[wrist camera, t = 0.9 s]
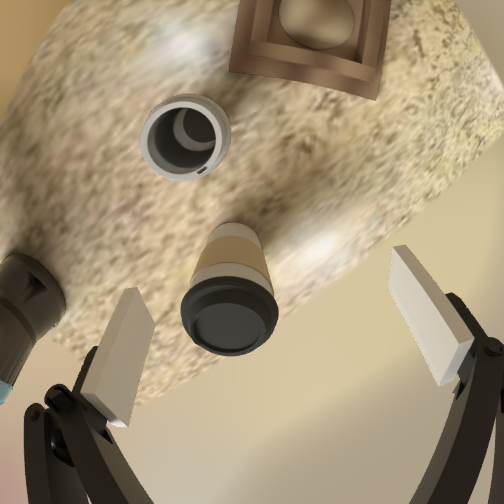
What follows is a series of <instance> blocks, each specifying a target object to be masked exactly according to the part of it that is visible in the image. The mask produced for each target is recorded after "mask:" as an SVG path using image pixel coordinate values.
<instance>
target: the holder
mask: <svg viewBox="0 0 504 504" xmlns="http://www.w3.org/2000/svg"><path fill="white" fill-rule="evenodd" d="M390 2H391V0H240V4H239V9H238V15H237V21H236V27H235V33H234V39H233V45H232V52H231V58H230V65H229V72H239V73H247V74H255V75H263V76H269V77H276V78H282V79H288V80H293V81H298V82H303V83H308V84H313V85H317V86H322V87H326V88H330V89H335V90H338V91H342V92H346V93H350V94H354V95H357V96H361V97H364V98H367V99H371V100H376V97H377V92H378V87H379V81H380V75H381V70H382V64H383V57H384V51H385V44H386V37H387V29H388V21H389V12H390Z"/></svg>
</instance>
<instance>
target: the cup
mask: <svg viewBox="0 0 504 504" xmlns="http://www.w3.org/2000/svg"><path fill="white" fill-rule="evenodd" d="M230 142H231V126H230V122H229V119H228V117H227V115H226V113H225V112H224V110H223V109H222V108H221V107H220V106H219V105H218V104H217V103H216V102H214V101H213V100H211V99H209V98H207V97H205V96H202V95H198V94H181V95H176V96H173V97H171V98H168V99H166V100H165V101H163V102H161V103H160V104H159V105H157V106H156V107H155V108H154V109H153V110H152V111H151V113H150V114H149V115H148V117H147V119H146V120H145V123H144V125H143V128H142V131H141V136H140V147H141V152H142V155H143V157H144V160H145V161H146V163H147V164H148V166H149V167H150V168H151V169H152V170H153V171H154V172H155V173H157V174H158V175H160V176H161V177H163V178H166V179H169V180H174V181H190V180H194V179H198V178H201V177H203V176H205V175H207V174H208V173H210V172H211V171H213V170H214V169H215V168H216V167H217V166H218V165H219V164H220V163H221V162H222V160H223V159H224V157H225V156H226V154H227V152H228V149H229V146H230Z"/></svg>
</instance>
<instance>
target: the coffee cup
mask: <svg viewBox="0 0 504 504" xmlns="http://www.w3.org/2000/svg"><path fill="white" fill-rule="evenodd" d="M278 315H279V311H278V306H277V303H276V301H275V299H274V291H273V287H272V283H271V279H270V276H269V272H268V268H267V264H266V261H265V257H264V254H263V252H262V249H261V245H260V241H259V238H258V236H257V234H256V233H255V232H254V231H253V230H252V229H251V228H250V227H248V226H246V225H244V224H241V223H226V224H223V225H220V226H219V227H217V228H216V229H214V230H213V232H212V233H211V234H210V236H209V238H208V241H207V243H206V246H205V248H204V250H203V251H202V253H201V256H200V258H199V261H198V263H197V265H196V268H195V270H194V273H193V275H192V278H191V280H190V283H189V285H188V289H187V293H186V294H185V296H184V298H183V300H182V303H181V317H182V322H183V326H184V328H185V330H186V332H187V333H188V335H189V336H190V337H191V338H192V340H193V341H194V343H195V344H197V345H199V346H201V347H203V348H204V349H206V350H207V351H209V352H211V353H214V354H217V355H222V356H239V355H244V354H247V353H249V352H251V351H253V350H255V349H256V348H257V347H259V346H261V345H262V344H263V343H265V342H266V341H267V340H268V339H269V338H270V336H271V334H272V333H273V331H274V328H275V326H276V323H277V321H278Z"/></svg>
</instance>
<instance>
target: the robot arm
mask: <svg viewBox="0 0 504 504" xmlns="http://www.w3.org/2000/svg"><path fill="white" fill-rule="evenodd" d="M388 290H389V292H390V294H391V296H392V298H393V299H394V301H395V303H396V305H397V306H398V308H399V310H400V312H401V314H402V316H403V317H404V319H405V321H406V323H407V324H408V327H409V329H410V330H411V332H412V334H413V336H414V338H415V340H416V342H417V344H418V346H419V348H420V350H421V352H422V354H423V356H424V358H425V360H426V362H427V364H428V366H429V368H430V370H431V372H432V374H433V377H434V379H435V381H436V383H437V385H438V386H441V385H444V384H446V383H449V382H451V381H453V379H454V378H455V376H456V374H457V373H458V375H459V377H460V381H459V382H458V384H457V386H456V387H455V389H454V391H453V393H455V392H456V393H455V397H454V400H453V403H452V406H451V409H450V412H449V415H448V418H447V421H446V424H445V427H444V429H443V432H442V434H441V437H440V440H439V442H438V445H437V447H436V450H435V452H434V454H433V457H432V459H431V461H430V463H429V466H428V468H427V470H426V472H425V474H424V476H423V478H422V480H421V483H420V484H419V486H418V489H417V490H416V492H415V494H414V496H413V498H412V499H411V501H410V503H409V504H467V503H468V501H469V499H470V496H471V494H472V491H473V489H474V486H475V484H476V481H477V478H478V476H479V473H480V470H481V467H482V464H483V461H484V458H485V455H486V452H487V448H488V445H489V441H490V437H491V433H492V430H493V426H494V421H495V417H496V436H495V454H494V465H493V474H492V481H491V488H490V494H489V500H488V504H504V344H502V343H501V342H500V341H499V340H498V339H496V338H493V337H488V336H487V335H486V333H485V332H484V330H483V329H482V328H481V326H480V325H479V323H478V322H477V320H476V319H475V317H474V316H473V315H472V314H471V312H470V311H469V309H468V308H466V305H465V304H464V302H463V301H462V300H461V298H459V297H458V296H456V295H455V294H454V293H448V294H444V293H443V292H442V290H441V289H440V288H439V286H438V285H437V284H436V282H435V281H434V280H433V279H432V277H431V276H430V274H429V273H428V272H427V271H426V269H425V268H424V267H423V265H422V264H421V263H420V262H419V260H418V259H417V258H416V257H415V256H414V254H413V253H412V252H411V251H410V249H409V248H408V247H407V246H406V245H401V246H395V247H393V248H392V259H391V269H390V278H389V286H388ZM64 313H65V300H64V297H63V294H62V291H61V289H60V287H59V285H58V284H57V282H56V281H55V279H54V278H53V277H52V275H51V274H50V273H49V272H48V271H47V270H46V269H45V268H44V267H43V266H42V265H41V264H40V263H38V262H37V261H35V260H34V259H32V258H30V257H28V256H26V255H23V254H12V255H9V256H8V257H7V258H6V259H5V260H4V261H3V262H2V263H1V264H0V405H2V404H3V403H4V402H5V400H6V398H7V397H8V395H9V393H10V392H11V390H13V386H14V383H15V381H16V379H17V377H18V375H19V373H20V371H21V369H22V367H23V365H24V363H25V361H26V360H27V358H28V356H29V354H30V352H31V350H32V348H33V347H34V345H35V343H36V342H37V340H39V339H40V338H41V337H43V336H44V335H45V334H46V333H47V332H48V331H49V330H51V329H53V328H55V327H56V326H57V325H58V324H59V322H60V320H61V319H62V317H63V315H64ZM155 326H156V325H155V323H154V321H153V319H152V317H151V315H150V313H149V311H148V309H147V307H146V305H145V303H144V301H143V299H142V296H141V294H140V292H139V290H138V288H137V287H135V288H128V289H125V290H124V292H123V294H122V296H121V298H120V300H119V302H118V304H117V306H116V308H115V311H114V313H113V315H112V317H111V319H110V321H109V324H108V326H107V328H106V330H105V332H104V335H103V337H102V339H101V342H100V344H99V346H94V347H93V348H92V349H91V350H90V351H89V353H88V354H87V356H86V358H85V360H84V364H83V365H82V368H81V371H80V372H79V375H78V377H77V380H76V382H75V385H74V387H73V390H72V392H71V391H70V390H69V389H68V388H67V387H66V386H65V385H63V384H56V385H54V386H52V387H51V388H50V389H49V390H48V391H47V393H46V395H45V398H44V402H45V404H47V406H49V408H47V409H45V408H44V407H43V406H42V405H41V404H39V403H33V404H32V405H30V406H29V407H28V408H27V410H26V412H25V416H24V461H25V476H26V486H27V494H28V502H29V504H89V502H88V498H87V495H88V497H89V499H90V501H91V503H92V504H154V503H153V501H152V500H151V499H150V497H149V496H148V494H147V493H146V491H145V490H144V488H143V487H142V485H141V484H140V482H139V481H138V479H137V478H136V476H135V474H134V473H133V471H132V470H131V468H130V466H129V465H128V463H127V461H126V459H125V458H124V456H123V454H122V453H121V451H120V449H119V447H118V445H117V444H116V442H115V440H114V438H113V436H112V434H111V432H110V430H109V429H108V428H107V426H106V423H107V420H108V421H109V422H110V423H111V424H112V425H114V426H118V427H128V426H129V422H130V418H131V413H132V409H133V405H134V401H135V397H136V393H137V389H138V386H139V382H140V378H141V374H142V371H143V367H144V363H145V360H146V356H147V353H148V349H149V346H150V342H151V339H152V336H153V332H154V329H155ZM86 493H87V494H86Z"/></svg>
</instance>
